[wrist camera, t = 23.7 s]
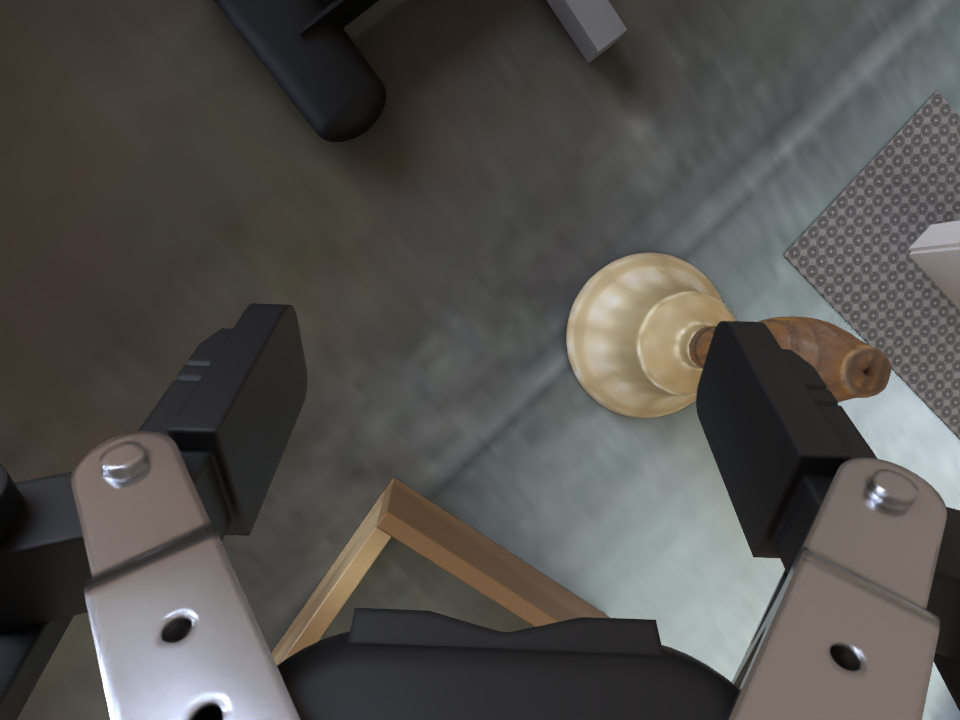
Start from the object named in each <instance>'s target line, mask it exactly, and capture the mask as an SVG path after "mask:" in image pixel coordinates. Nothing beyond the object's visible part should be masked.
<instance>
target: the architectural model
mask: <svg viewBox="0 0 960 720" xmlns="http://www.w3.org/2000/svg"><path fill="white" fill-rule="evenodd" d="M784 256H785V257H786V258H787V259H788V260H789V261H790V262H791V263H792V265H793V266H794V267H795V268H796V269H797V270H798V271H799V272H800V273H801V274H802V275H803V276H804V277H805V278H806V279H807V280H808V281H809V282H810V283H811V284H812V285H813V286H814V287H815V289H816V290H817V291H818V292H819V293H820V294H821V295H822V296H823V297H824V298H825V299H826V300H827V301H828V302H829V303H830V304H831V305H832V306H833V307H834V308H835V309H836V310H837V311H838V313H839V314H840V315H841V316H842V317H843V318H844V319H845V320H846V321H847V322H848V323H849V324H850V325H851V326H852V327H853V328H854V329H855V330H856V331H857V332H858V333H859V334H860V335H861V337H862V338H863V339H864V340H865V341H866V342H867V343H868V344H869V345H870V346H873V347H876V348H878V349H880V350H881V351H883V352H884V353H885V354H886V356H887V357H888V359H889V361H890V362H891V367H892V369H893V370H894V371H895V372H896V373H897V374H898V375H899V376H900V377H901V378H902V379H903V380H904V381H905V382H906V383H907V384H908V386H909V387H910V388H911V389H912V390H913V391H914V392H915V393H916V394H917V395H918V396H919V397H920V398H921V399H922V400H923V401H924V402H925V403H926V404H927V405H928V406H929V407H930V408H931V410H932V411H933V412H934V413H935V414H936V415H937V416H938V417H939V418H940V419H941V420H942V421H943V422H944V423H945V424H946V425H947V426H948V427H949V428H950V429H951V430H952V431H953V432H954V434H955V435H956V436H957V437H958V438H959V439H960V116H959V115H958V114H957V113H956V111H955V110H954V109H953V108H952V107H951V106H950V104H949V103H948V102H947V101H946V100H945V99H944V98H943V96H942V95H941V94H940V93H939V92H938V91H937V92H936V93H935V94H934V95H933V96H932V97H931V98H930V99H929V100H928V101H927V102H926V103H925V104H924V106H923V107H922V108H921V109H920V110H919V111H918V112H917V113H916V114H915V115H914V116H913V117H912V118H911V119H910V121H909V122H908V123H907V124H906V125H905V126H904V127H903V128H902V129H901V130H900V131H899V132H898V133H897V134H896V136H895V137H894V138H893V139H892V140H891V141H890V142H889V143H888V144H887V145H886V146H885V147H884V148H883V149H882V151H881V152H880V153H879V154H878V155H877V156H876V157H875V158H874V159H873V160H872V161H871V162H870V163H869V164H868V165H867V167H866V168H865V169H864V170H863V171H862V172H861V173H860V174H859V175H858V176H857V177H856V178H855V179H854V180H853V182H852V183H851V184H850V185H849V186H848V187H847V188H846V189H845V190H844V191H843V192H842V193H841V194H840V195H839V197H838V198H837V199H836V200H835V201H834V202H833V203H832V204H831V205H830V206H829V207H828V208H827V209H826V210H825V211H824V213H823V214H822V215H821V216H820V217H819V218H818V219H817V220H816V221H815V222H814V223H813V224H812V225H811V226H810V228H809V229H808V230H807V231H806V232H805V233H804V234H803V235H802V236H801V237H800V238H799V239H798V240H797V241H796V243H795V244H794V245H793V246H792V247H791V248H790V249H789V250H788V251H787V252H786V253H785V254H784Z"/></svg>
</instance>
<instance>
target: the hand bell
mask: <svg viewBox="0 0 960 720" xmlns="http://www.w3.org/2000/svg"><path fill="white" fill-rule="evenodd" d="M721 321H735V319H734V317H733V315H732V314H731V312H730V311H729V309H728V308H727V307H726V306H725V305H724V304H723V302H722V300H721V298H720V296H719V293H718V292H717V290H716V288H715V287H714V285H713V284H712V283H711V281H710V280H709V279H708V278H707V277H706V276H705V275H704V274H703V273H702V272H701V271H700V270H698V269H697V268H696V267H694V266H693V265H691V264H690V263H688V262H686V261H684V260H682V259H680V258H677V257H674V256H671V255H666V254H661V253H639V254H633V255H629V256H626V257H623V258H620V259H618V260H615V261H613V262H611V263H610V264H608V265H607V266H605V267H604V268H602V269H601V270H599V271H598V272H597V273H596V274H595V275H594V276H592V277H591V278H590V279H589V280H588V282H587V283H586V284H585V285H584V287H583V288H582V289H581V291H580V292H579V294H578V296H577V298H576V299H575V301H574V304H573V306H572V309H571V312H570V315H569V319H568V325H567V334H566V345H567V352H568V358H569V362H570V364H571V367H572V369H573V372H574V374H575V376H576V378H577V379H578V381H579V383H580V384H581V386H582V387H583V388H584V390H585V391H586V392H587V393H588V394H589V395H590V396H591V397H592V398H593V399H594V400H595V401H596V402H598V403H599V404H601V405H602V406H604V407H605V408H607V409H609V410H611V411H613V412H616V413H618V414H621V415H625V416H629V417H636V418H655V417H661V416H665V415H668V414H672V413H675V412H677V411H679V410H681V409H683V408H685V407H686V406H688V405H690V404H691V403H693V402H694V401H696V394H697V387H698V383H699V380H700V377H701V373H702V370H703V367H704V363H705V360H706V357H707V353H708V350H709V346H710V343H711V340H712V336H713V333H714V330H715V328H716V326H717V324H718V323H719V322H721ZM759 322H762V323H764V324H766V326H767V327H768V328H769V330H770V332H771V333H772V335H773V336H774V338H775V339H776V341H777V342H778V344H779V345H780V347H781V348H782V349H791V350H792V351H793V352H795V353H796V354H797V355H799V356H800V357H801V358H803V359H804V360H805V361H807V362H808V363H809V364H811V365H812V366H813V367H814V368H815V369H816V371H817V372H818V374H819V375H820V377H821V378H822V379H823V381H824V382H825V384H826V385H827V390H830V391H831V392H832V394H833V395H834V397H835V398H836V400H837V401H838V402H841V401H844V400H848V399H852V398H867V397H871V396H874V395H877V394H879V393H880V392H882V391H883V390H884V389H885V387H886V385H887V384H888V380H889V377H890V373H891V369H892V367H891V362H890V361H889V359H888V357H887V356H886V354H885V353H884V352H883V351H881V350H880V349H878V348H876V347H873V346H870V345H868V344H866V343H864V342H862V341H860V340H859V339H857V338H856V337H855V336H853V335H852V334H850V333H849V332H847V331H845V330H843V329H841V328H839V327H837V326H835V325H833V324H831V323H828V322H825V321H822V320H818V319H813V318H807V317H777V318H770V319H766V320H762V321H759Z"/></svg>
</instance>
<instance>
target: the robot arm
mask: <svg viewBox="0 0 960 720" xmlns="http://www.w3.org/2000/svg"><path fill="white" fill-rule="evenodd" d="M306 392H307V369H306V364H305V358H304V353H303V347H302V342H301V336H300V331H299V325H298V320H297V315H296V312H295V309H294V308H293V306H292V305H280V304H250V305H249V306H248V307H247V308H246V310H245V311H244V313H243V314H242V316H241V317H240V319H239V320H238V322H237V323H236V325H235V327H234V328H233V329H224V328H222V329H221V330H219V331H218V332H216V333H215V334H213V335H212V336H210V337H209V338H208V339H206V340H205V341H203V342H202V343H200V344H199V346H198V347H197V349H196V350H195V351H194V353H193V354H192V356H191V357H190V358H189V360H188V361H187V365H184V367H183V368H182V370H181V371H180V372H179V374H178V375H177V380H176V381H175V380H174V381H173V382H172V384H171V385H170V386H169V388H168V389H167V391H166V392H165V393H164V395H163V396H162V398H161V399H160V401H159V402H158V403H157V405H156V406H155V408H154V409H153V410H152V412H151V413H150V415H149V416H148V417H147V419H146V420H145V422H144V423H143V424H142V426H141V427H140V429H139V430H138V431H137V432H131V433H126V434H123V435H120V436H116V437H114V438H111V439H109V440H107V441H105V442H103V443H101V444H99V445H98V446H96V447H95V448H93V449H92V450H90V451H89V452H88V453H87V454H85V455H84V456H83V457H82V458H81V459H80V460H79V462H78V463H77V465H76V466H75V468H74V470H73V472H70V473H65V474H60V475H54V476H49V477H44V478H39V479H34V480H28V481H23V482H18V483H14V482H13V480H12V478H11V477H10V475H9V474H8V472H7V471H6V469H5V467H3V466H2V465H1V464H0V720H17V718H18V716H19V714H20V712H21V711H22V709H23V707H24V705H25V703H26V702H27V700H28V698H29V696H30V694H31V692H32V691H33V689H34V687H35V685H36V683H37V681H38V680H39V678H40V676H41V674H42V672H43V671H44V669H45V667H46V665H47V663H48V661H49V660H50V658H51V656H52V654H53V652H54V651H55V649H56V647H57V645H58V643H59V641H60V640H61V638H62V636H63V634H64V632H65V630H66V629H67V627H68V625H69V623H70V621H71V620H72V618H73V616H74V615H77V614H81V613H86V612H88V614H89V619H90V623H91V628H92V633H93V638H94V642H95V647H96V652H97V657H98V661H99V666H100V671H101V675H102V680H103V685H104V690H105V694H106V699H107V704H108V709H109V713H110V718H111V720H922V716H923V711H924V706H925V701H926V696H927V691H928V686H929V681H930V676H931V671H932V665H933V661H934V663H935V665H936V667H937V669H938V671H939V672H940V674H941V676H942V678H943V680H944V682H945V684H946V686H947V688H948V690H949V692H950V694H951V696H952V697H953V699H954V701H955V703H956V705H957V707H958V709H959V711H960V511H959V510H956V509H952V508H949V507H946V505H945V503H944V501H943V499H942V498H941V496H940V495H939V494H938V492H937V491H936V490H935V489H934V488H933V487H932V486H931V485H930V484H929V483H927V482H926V481H925V480H924V479H922V478H921V477H920V476H918V475H917V474H915V473H913V472H911V471H910V470H908V469H906V468H904V467H902V466H899V465H897V464H894V463H891V462H888V461H885V460H881V459H877V457H876V456H875V454H874V453H873V451H872V450H871V448H870V447H869V446H868V444H867V443H866V441H865V440H864V438H863V437H862V436H861V434H860V433H859V431H858V430H857V428H856V427H855V425H854V424H853V423H852V421H851V420H850V418H849V417H848V415H847V414H846V412H845V411H844V410H843V408H842V407H841V406H838V401H837V400H836V398H835V397H834V395H833V394H832V392H831V391H830V390H827V385H826V384H825V382H824V381H823V379H822V378H821V377H820V375H819V374H818V372H817V371H816V369H815V368H814V367H813V366H812V365H811V364H809V363H808V362H807V361H805V360H804V359H803V358H801V357H800V356H799V355H797V354H796V353H795V352H793V351H792V350H791V349H782V348H781V347H780V345H779V344H778V342H777V341H776V339H775V338H774V336H773V335H772V333H771V332H770V330H769V328H768V327H767V326H766V324H764V323H762V322H741V321H721V322H719V323H718V324H717V326H716V328H715V330H714V333H713V336H712V340H711V343H710V346H709V350H708V353H707V357H706V360H705V363H704V367H703V370H702V373H701V377H700V380H699V383H698V387H697V394H696V407H697V413H698V417H699V420H700V423H701V425H702V428H703V430H704V433H705V435H706V438H707V440H708V443H709V445H710V448H711V451H712V453H713V456H714V458H715V461H716V463H717V466H718V468H719V471H720V473H721V476H722V479H723V481H724V484H725V486H726V489H727V491H728V494H729V496H730V499H731V501H732V504H733V506H734V509H735V512H736V514H737V517H738V519H739V522H740V524H741V527H742V529H743V532H744V534H745V537H746V540H747V542H748V545H749V547H750V550H751V552H752V555H753V557H764V558H781V561H782V563H783V565H784V568H785V571H784V572H783V574H782V576H781V578H780V580H779V582H778V584H777V586H776V589H775V591H774V593H773V595H772V597H771V599H770V602H769V604H768V606H767V608H766V610H765V612H764V614H763V617H762V619H761V621H760V623H759V625H758V627H757V630H756V632H755V634H754V636H753V638H752V640H751V643H750V645H749V647H748V649H747V651H746V653H745V655H744V658H743V660H742V662H741V664H740V666H739V668H738V670H737V672H736V674H735V676H734V678H733V680H732V682H730V681H729V680H728V679H726V678H725V677H724V676H722V675H721V674H719V673H718V672H716V671H715V670H714V669H712V668H711V667H709V666H708V665H706V664H704V663H702V662H700V661H699V660H697V659H695V658H693V657H691V656H689V655H687V654H685V653H682V652H680V651H678V650H675V649H673V648H670V647H667V646H664V645H661V642H660V637H659V633H658V628H657V624H656V620H644V619H619V618H594V617H579V618H575V619H570V620H565V621H561V622H556V623H551V624H547V625H542V626H537V627H533V628H528V629H523V630H519V631H514V632H499V631H495V630H492V629H488V628H485V627H482V626H478V625H475V624H471V623H468V622H465V621H461V620H458V619H455V618H451V617H448V616H444V615H441V614H438V613H434V612H431V611H420V610H395V609H370V608H355V611H354V616H353V620H352V625H351V630H350V632H346V633H342V634H338V635H335V636H332V637H329V638H326V639H323V640H320V641H318V642H316V643H314V644H312V645H310V646H308V647H305V648H303V649H302V650H300V651H298V652H297V653H295V654H293V655H292V656H290V657H288V658H287V659H285V660H284V661H283V662H281V663H280V664H279V665H276V663H275V661H274V659H273V656H272V654H271V652H270V650H269V647H268V645H267V643H266V641H265V638H264V636H263V634H262V632H261V629H260V627H259V625H258V623H257V620H256V618H255V616H254V614H253V611H252V609H251V607H250V605H249V602H248V600H247V598H246V596H245V593H244V591H243V589H242V587H241V584H240V582H239V580H238V578H237V575H236V573H235V571H234V568H233V566H232V564H231V562H230V559H229V557H228V555H227V553H226V550H225V548H224V546H223V544H222V540H223V538H224V536H225V535H250V533H251V530H252V528H253V525H254V523H255V520H256V518H257V516H258V513H259V511H260V508H261V506H262V503H263V501H264V499H265V496H266V494H267V491H268V489H269V486H270V484H271V481H272V479H273V477H274V474H275V472H276V469H277V467H278V464H279V462H280V460H281V457H282V455H283V452H284V450H285V447H286V445H287V443H288V440H289V438H290V435H291V433H292V430H293V428H294V425H295V423H296V421H297V418H298V416H299V413H300V411H301V408H302V406H303V404H304V401H305V397H306Z"/></svg>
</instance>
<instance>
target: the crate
mask: <svg viewBox="0 0 960 720" xmlns="http://www.w3.org/2000/svg"><path fill="white" fill-rule="evenodd" d="M391 536H393V537H394V538H396V539H397V540H399V541H400V542H402V543H404V544H405V545H407V546H408V547H410V548H411V549H413V550H415V551H416V552H418V553H419V554H421V555H423V556H424V557H426V558H427V559H429V560H430V561H432V562H434V563H435V564H437V565H438V566H440V567H441V568H443V569H445V570H446V571H448V572H449V573H451V574H452V575H454V576H456V577H457V578H459V579H460V580H462V581H464V582H465V583H467V584H468V585H470V586H471V587H473V588H475V589H476V590H478V591H479V592H481V593H482V594H484V595H486V596H487V597H489V598H490V599H492V600H494V601H495V602H497V603H498V604H500V605H501V606H503V607H505V608H506V609H508V610H509V611H511V612H512V613H514V614H516V615H517V616H519V617H520V618H522V619H523V620H525V621H527V622H528V623H530V624H531V625H533V626H535V627H537V626H542V625H547V624H551V623H556V622H561V621H565V620H570V619H575V618H579V617H594V618H610V617H609V616H607V615H606V614H604V613H603V612H601V611H600V610H598V609H596V608H595V607H593V606H592V605H590V604H589V603H587V602H586V601H584V600H583V599H581V598H579V597H578V596H576V595H575V594H573V593H572V592H570V591H569V590H567V589H566V588H564V587H563V586H561V585H559V584H558V583H556V582H555V581H553V580H552V579H550V578H549V577H547V576H546V575H544V574H542V573H541V572H539V571H538V570H536V569H535V568H533V567H532V566H530V565H529V564H527V563H525V562H524V561H522V560H521V559H519V558H518V557H516V556H515V555H513V554H512V553H510V552H509V551H507V550H505V549H504V548H502V547H501V546H499V545H498V544H496V543H495V542H493V541H492V540H490V539H488V538H487V537H485V536H484V535H482V534H481V533H479V532H478V531H476V530H475V529H473V528H471V527H470V526H468V525H467V524H465V523H464V522H462V521H461V520H459V519H458V518H456V517H455V516H453V515H451V514H450V513H448V512H447V511H445V510H444V509H442V508H441V507H439V506H438V505H436V504H434V503H433V502H431V501H430V500H428V499H427V498H425V497H424V496H422V495H421V494H419V493H417V492H416V491H414V490H413V489H411V488H410V487H408V486H407V485H405V484H404V483H402V482H401V481H399V480H397V479H396V478H393V479H392V480H391V482H390V483H389V485H388V486H387V487H386V489H385V491H384V492H383V493H382V495H381V496H380V497H379V499H378V500H377V502H376V503H375V505H374V506H373V507H372V509H371V510H370V512H369V513H368V515H367V516H366V518H365V519H364V520H363V522H362V523H361V525H360V526H359V528H358V529H357V531H356V532H355V533H354V535H353V536H352V538H351V539H350V541H349V542H348V543H347V545H346V546H345V548H344V549H343V551H342V552H341V554H340V555H339V556H338V558H337V559H336V561H335V562H334V564H333V565H332V566H331V568H330V569H329V571H328V572H327V574H326V575H325V577H324V578H323V579H322V581H321V582H320V584H319V585H318V587H317V588H316V589H315V591H314V592H313V594H312V595H311V597H310V598H309V600H308V601H307V602H306V604H305V605H304V607H303V608H302V610H301V611H300V612H299V614H298V615H297V617H296V618H295V620H294V621H293V623H292V624H291V625H290V627H289V628H288V630H287V631H286V633H285V634H284V635H283V637H282V638H281V640H280V641H279V643H278V644H277V646H276V647H275V648H274V650H273V651H272V653H271V654H272V656H273V659H274V661H275V663H276V665H279V664H280V663H281V662H283V661H284V660H285V659H287V658H288V657H290V656H292V655H293V654H295V653H297V652H298V651H300V650H302V649H303V648H305V647H308V646H310V645H312V644H314V643H316V642H318V641H319V640H320V638H321V637H322V635H323V634H324V633H325V631H326V630H327V628H328V627H329V625H330V624H331V623H332V621H333V620H334V618H335V617H336V615H337V614H338V612H339V611H340V610H341V608H342V607H343V605H344V604H345V602H346V601H347V600H348V598H349V597H350V595H351V594H352V592H353V591H354V590H355V588H356V587H357V585H358V584H359V582H360V581H361V580H362V578H363V577H364V575H365V574H366V572H367V571H368V570H369V568H370V567H371V565H372V564H373V562H374V561H375V560H376V558H377V557H378V555H379V554H380V552H381V551H382V549H383V548H384V547H385V545H386V544H387V542H388V541H389V539H390V538H391Z"/></svg>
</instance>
